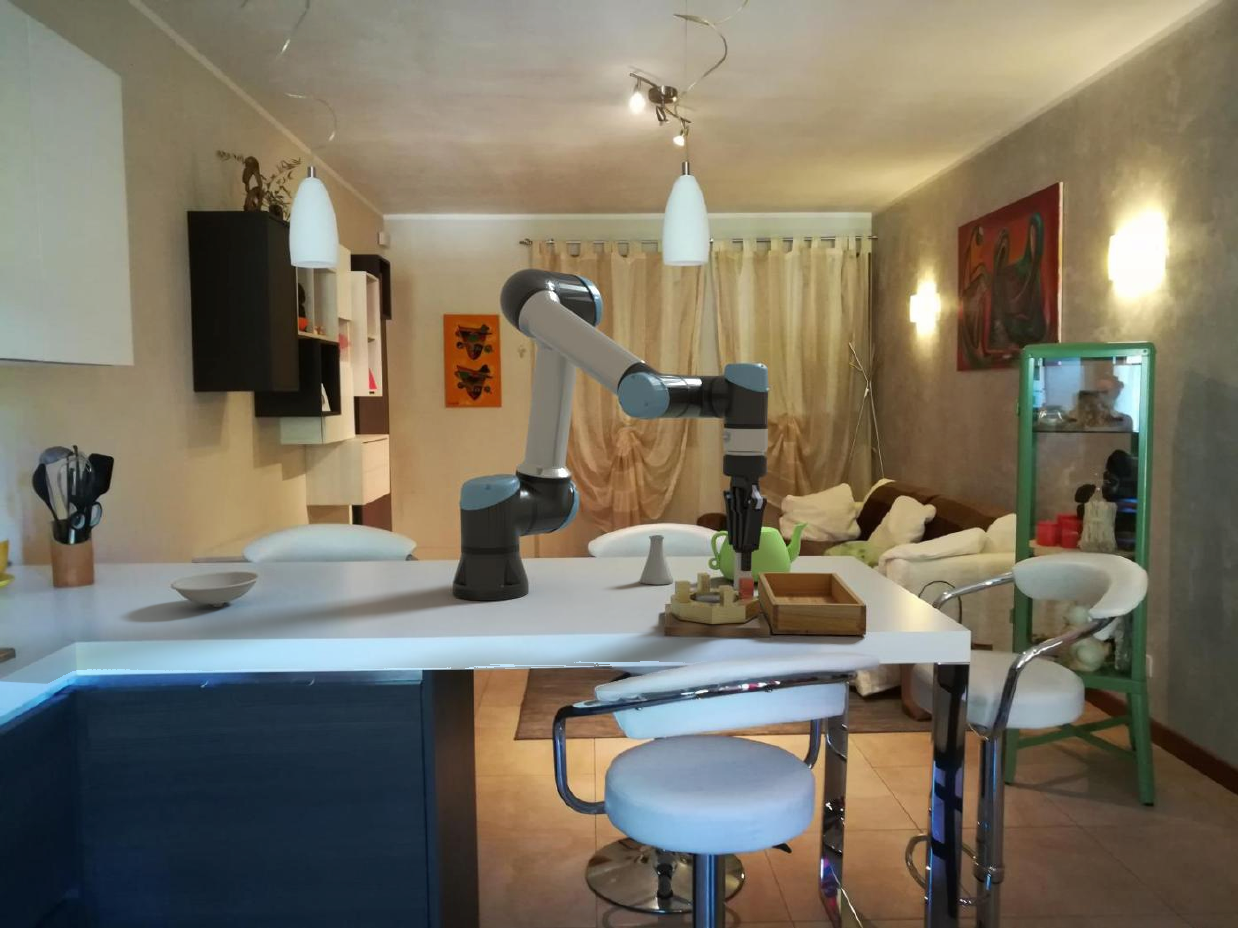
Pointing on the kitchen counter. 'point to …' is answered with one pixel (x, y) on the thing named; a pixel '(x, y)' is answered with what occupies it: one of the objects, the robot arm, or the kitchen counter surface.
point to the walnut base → (715, 625)
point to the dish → (216, 586)
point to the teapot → (759, 553)
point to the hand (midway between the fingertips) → (742, 588)
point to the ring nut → (727, 610)
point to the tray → (810, 604)
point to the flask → (656, 564)
